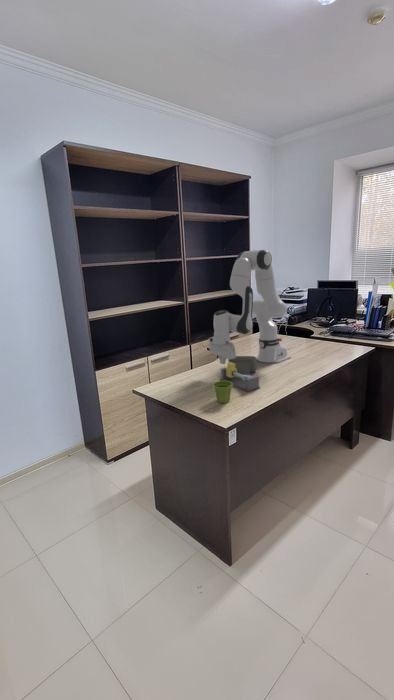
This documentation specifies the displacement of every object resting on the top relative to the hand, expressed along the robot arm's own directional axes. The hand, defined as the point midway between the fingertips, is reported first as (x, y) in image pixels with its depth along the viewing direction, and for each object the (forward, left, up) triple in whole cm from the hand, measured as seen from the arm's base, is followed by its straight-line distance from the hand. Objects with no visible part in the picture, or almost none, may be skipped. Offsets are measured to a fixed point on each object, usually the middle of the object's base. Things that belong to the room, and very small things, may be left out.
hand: (222, 363), depth 196 cm
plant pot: (+20, +26, -9) cm, 34 cm away
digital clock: (-14, +1, -9) cm, 16 cm away
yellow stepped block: (0, +8, -6) cm, 9 cm away
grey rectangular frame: (0, +14, -8) cm, 16 cm away
